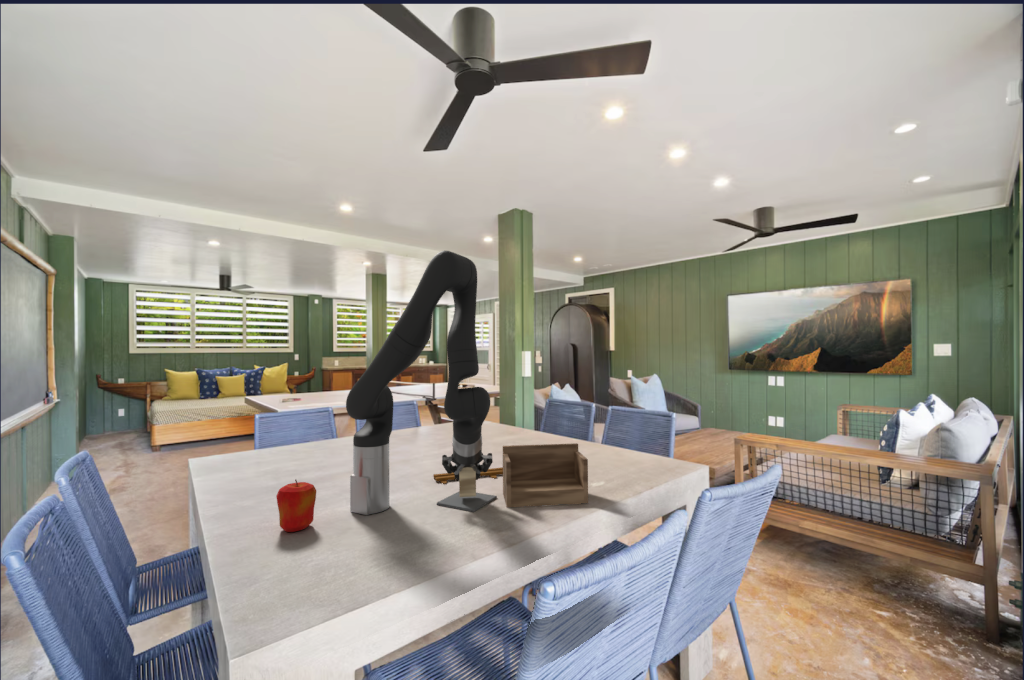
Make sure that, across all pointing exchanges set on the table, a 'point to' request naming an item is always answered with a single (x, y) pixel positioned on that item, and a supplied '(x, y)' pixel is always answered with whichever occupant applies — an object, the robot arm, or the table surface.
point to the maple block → (467, 482)
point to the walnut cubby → (544, 475)
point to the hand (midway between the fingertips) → (467, 477)
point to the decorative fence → (490, 472)
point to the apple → (296, 506)
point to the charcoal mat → (467, 501)
